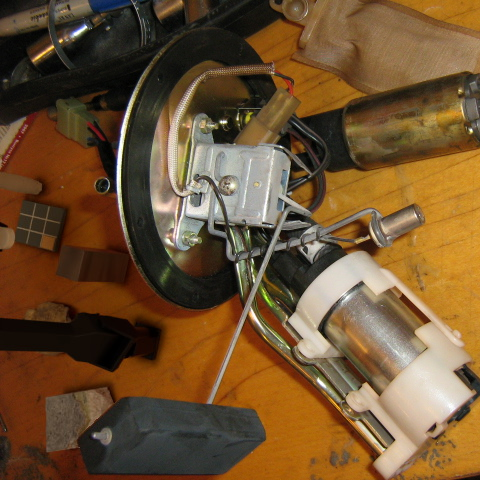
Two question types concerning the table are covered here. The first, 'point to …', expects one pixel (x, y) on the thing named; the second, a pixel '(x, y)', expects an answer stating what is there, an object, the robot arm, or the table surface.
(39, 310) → the decorative rock
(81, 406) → the geological specimen
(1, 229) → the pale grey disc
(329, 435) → the table surface
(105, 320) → the robot arm
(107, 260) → the stand
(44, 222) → the board
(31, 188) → the handle
